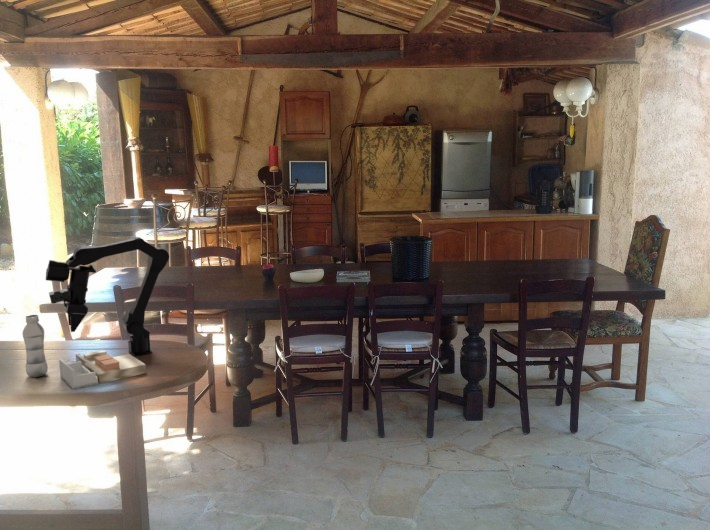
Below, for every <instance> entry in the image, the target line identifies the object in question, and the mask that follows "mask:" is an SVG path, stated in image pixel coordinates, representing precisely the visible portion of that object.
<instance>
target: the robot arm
mask: <svg viewBox="0 0 710 530" xmlns="http://www.w3.org/2000/svg"><path fill="white" fill-rule="evenodd" d="M136 250H138V251H141V252H142V253H144V254H146V255H147V256H148V257H147V265H146V271H145V275H144V277H143V280H142V283H141V284H140V288H139V290H138V293H137V295H136V299H135V301H134V303H133V306H132V307H131V308H130V310H129V309H127V308H126V309H125V311H124V316H123V317H122V319H121V320H122V325H123V328H124V329H125V331H126V332H127V334H129V339H128V341H127V343H128V345H127V346H128V353H129V354H130V355H132V356H133V357H138V356H141V355H142V356H143V355H145V354H151V353H153V350H152V349H151V340H150V334H151V332H150V331H149V329H147V327H146V326H145V325H144V323H145V316H146V315H145V314H146V309H147V306H148V303H149V301H150V298H151V296H152V293H153V290H154V289H155V288H154V287H155V285H156V283H157V279H158V277H159V275H160V273H161V272H162V271H163V270H164V269H165V267H166V265H167V264H168V262H169V260H170V254H169V252H168V251H167V250H166V249H164V248H163V247H161V246H153V245H152V244H150V243H148V242H146V241H145V240H144V239H143V238H142V237H139V236H136V237H134V238H129V239H126V240H120V241H116V242H112V243H111V242H110V243H107V244H103V245H80V246H77V247H76V248H75V249H74V250H73V253H72V255H71V256H70V257H69V258H68V259H67V260H66V261H64V262H62V261H56V260H54V259H53V260H52V259H50V260H48V265H47V268H46V271H45V281H50V282H60V283H65V282H66V281H67V280H69V282H68V283H69V284H67V286H66V288H64V289H63V288H62V289H58V290H53V291H50V292H48V295H49V299H50V303H51V305H52V304H57V303H60V302H63V306H64V307H65V308H66V315H67V319H68V326H70V332H72V333H75V331H76V330H77V329H78V327H79V326H80V324H81V322H83V320H84V318H85V317H86V316H87V315H88V312H89V308H88V306H87V304H86V303H87V302H86V301H87V300H86V297H87V292H88V290H89V288H88V284H89V278H90V274H91V273H97V270H96V269H95V268H94V267H93V265H92V264H93V263H95V262H97V261H99V260H101V259H103V258H106V257H110V256H115V255H119V254H124V253H128V252H132V251H136ZM130 335H131V336H130Z"/></svg>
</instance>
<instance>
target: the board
mask: <svg viewBox="0 0 710 530" xmlns="http://www.w3.org/2000/svg"><path fill="white" fill-rule="evenodd" d="M113 359H116V360H117V361H119V367H120V368H117V369H112V370H107V371H105V370H104V369H102V368H101V366H98V365H97V364H96V363H95V361H92V362H88V363H84V367H85V368H87V369H88V370H89V371H90V372H95V374H96V376H97V377H98V385H99V384H104V383H108V382H113V381H117V380H121V379H122V380H123V379H125V378H131V377H135V376H139V375H143V374H147V369H146V368H147V367H146V366H147V365H146V363H144V362H142V361H141V360H139V358H136V356H134V355H133V354H131V353H126V354H123V355H118V356H113Z"/></svg>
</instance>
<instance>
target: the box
mask: <svg viewBox="0 0 710 530" xmlns="http://www.w3.org/2000/svg"><path fill="white" fill-rule="evenodd" d="M58 361H59V363H58V364H59V373H60V378H61V377H62V378H63V379H64V380H65V381H66V382H65V381H64V380H63V379H62V378H61V379H62V380H63V381H64V382H65V383H66V384H68V385H69V386H70V387H71V386H72V387H73V388H74V389H73V388H72V387H71V388H72V389H73V390H78V389H77V388H79V389H82V388H86V387H92V386H95V385H99V383H98V377H97V376H96V374H95V372H90V371H89V370H88V369H87V368H85V367H84V366H82V362H81V361H78V362H77V361H74V362H68V363H66V362H65V360H63V359H61V358H59V359H58Z"/></svg>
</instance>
